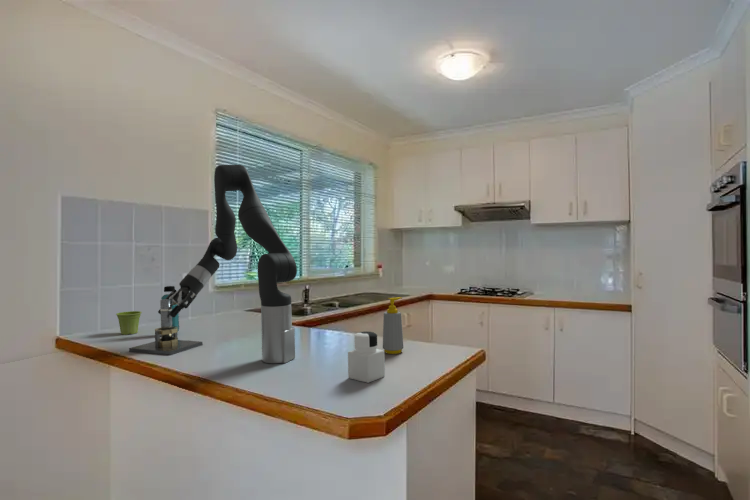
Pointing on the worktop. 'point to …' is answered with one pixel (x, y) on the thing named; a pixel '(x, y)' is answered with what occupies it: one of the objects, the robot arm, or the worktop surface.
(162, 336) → the glossy dome-topped cylinder
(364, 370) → the medicine bottle
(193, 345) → the dark square plate
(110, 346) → the worktop surface
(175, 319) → the beverage bottle
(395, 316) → the soap bottle
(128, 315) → the plant pot
